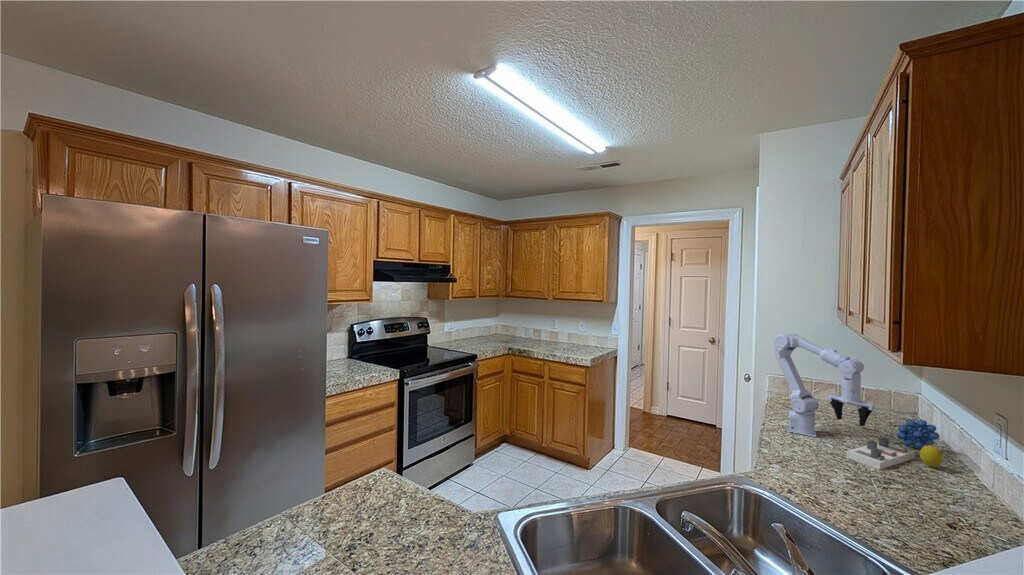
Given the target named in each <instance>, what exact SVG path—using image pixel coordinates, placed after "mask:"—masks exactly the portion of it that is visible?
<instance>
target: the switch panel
mask: <svg viewBox="0 0 1024 575" xmlns="http://www.w3.org/2000/svg"><path fill="white" fill-rule="evenodd" d="M876 442H877V449H879V450H880V451H881V456H879V457H878V459H877V458H874V457H871V450H872V449H870V448H867V444H866V445H864V446H859V447H856V448H853V449H848V450H846V458H847V459H850V460H852V461H855V462H858V463H861V464H864V465H866V466H869V467H871V468H875V469H878V470H883V469H886V468H889V467H893V466H895V465H898V464H902V463H905V462H908V461H911V460H914V459H915V451H913V450H910V449H909V448H907V447H905V448H902V447H899V446H896V445H893V444H890V443H889V445H888V446H883V445H880V444H879V441H876ZM892 465H893V466H892Z"/></svg>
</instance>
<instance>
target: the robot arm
mask: <svg viewBox="0 0 1024 575" xmlns="http://www.w3.org/2000/svg"><path fill="white" fill-rule="evenodd" d="M773 339H774V340H772V341H773V342H772V343H773V345H774V355H775V358H776V360H777V362H778V364H779V367H780V369H781V371H782V373H783V375H784V378H785V380H786V382H787V385H788V386H789V389H790V391H791V393H790V396H789V399H790V405H791V408H792V409H791V410H789V412H788V420H789V421H788V422H787V426H788V432H789V433H792V432H793V434H797V433H798V434H799V435H803V436H809V437H814V438H816V437H817V432H816V411H817V410H818V409H819V406H820V404H819V401H818V400H817V399H816V398H815V397H814V396H813V394H812V392H810V391H809V390H808V389H806V387H805V384H804V382H803V380H802V378H801V375H800V374H799V371H798V369H797V367H796V365H795V363H794V361H793V359H792V356H791V355H792V353H793V351H795V350H796V349H797V348H801V349H803V350H807V351H809V352H811V353H812V354H815V355H816V356H817V355H818V356H820V359H821V361H823V362H825V363H827V364H830V365H831V366H834V367H835V368H837V369H838V370H839V371H840V373H841V388H840V389H841V395H834V394H829V395H828V400H829V405H831V407H832V409H833V411H834V413H835V417H836V420H839V421H840V420H842V419H843V407H844V404H845V405H846V404H847V405H851V406H855V407H859V408H857V411H858V418H859V420H858V421H859V426H860V427H865V426H866V422H867V420H868V418H869V417H870V415H871V413H873V411H875V409H876V408H875V407H876V405H875V404H872V403H869V402H867V401H866V402H865V401H862V400H861V386H862V384H861V382H862V381H861V380H862V379H861V377H862V376H861V375H862V374H861V373H862V372H863V371H864V369H865V366H864V363H863V362H862V361H861V360H859V359H858V358H850V356H848V355H844V354H842V353H840V352H838V350H837V349H835V348H827V349H825V348H823V347H822V346H821V345H820V346H819V345H818V344H816V343H814V342H812V341H810V340H808V339H806V338H805V337H803V336H801V335H798V333H788V334H787V333H786V334H781V333H780V334H777V335H776V336H775V337H774V338H773Z"/></svg>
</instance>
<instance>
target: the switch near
mask: <svg viewBox="0 0 1024 575" xmlns="http://www.w3.org/2000/svg"><path fill="white" fill-rule="evenodd" d="M879 456H881V451H880V450H879V449H872V450H871V457H874V458H877V459H878V457H879Z"/></svg>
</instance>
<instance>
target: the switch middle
mask: <svg viewBox="0 0 1024 575" xmlns="http://www.w3.org/2000/svg"><path fill="white" fill-rule="evenodd" d="M877 442H878V441H875V440H873V439H872V440H867V441H866V445H867V448H870V449H877Z"/></svg>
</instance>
